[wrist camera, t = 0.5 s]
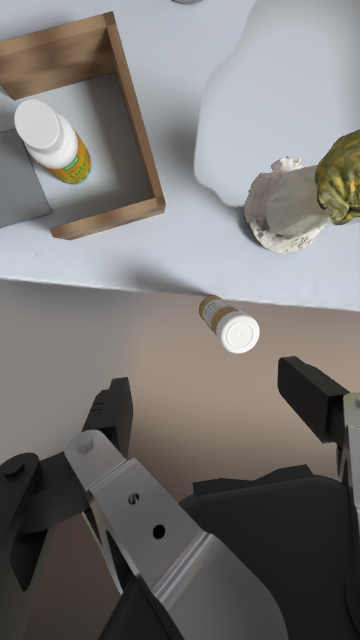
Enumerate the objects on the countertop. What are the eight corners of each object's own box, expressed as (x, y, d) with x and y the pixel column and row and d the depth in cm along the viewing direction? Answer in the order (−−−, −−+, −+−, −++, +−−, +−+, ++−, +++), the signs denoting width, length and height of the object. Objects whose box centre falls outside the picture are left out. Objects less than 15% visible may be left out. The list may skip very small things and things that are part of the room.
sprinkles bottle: (208, 327, 39) (234, 362, 27) (192, 305, 38) (212, 331, 25) (230, 311, 39) (268, 338, 26) (216, 289, 38) (247, 306, 25)
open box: (121, 59, 29) (112, 11, 23) (163, 212, 34) (165, 204, 28) (10, 90, 29) (-26, 49, 23) (70, 240, 34) (53, 237, 28)
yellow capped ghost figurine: (287, 269, 38) (400, 282, 21) (226, 218, 35) (298, 181, 18) (338, 204, 36) (511, 157, 19) (279, 144, 33) (419, 19, 16)
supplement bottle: (83, 193, 32) (54, 168, 23) (44, 171, 31) (-3, 136, 22) (99, 154, 31) (75, 111, 22) (59, 130, 30) (16, 75, 21)
